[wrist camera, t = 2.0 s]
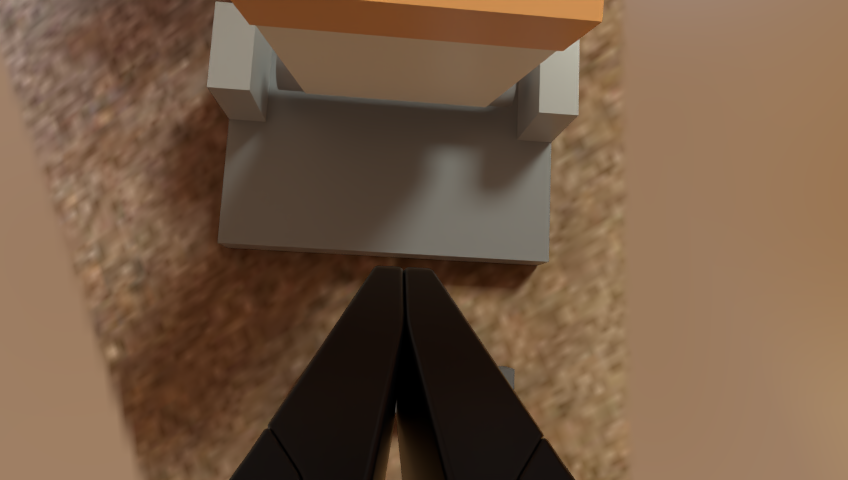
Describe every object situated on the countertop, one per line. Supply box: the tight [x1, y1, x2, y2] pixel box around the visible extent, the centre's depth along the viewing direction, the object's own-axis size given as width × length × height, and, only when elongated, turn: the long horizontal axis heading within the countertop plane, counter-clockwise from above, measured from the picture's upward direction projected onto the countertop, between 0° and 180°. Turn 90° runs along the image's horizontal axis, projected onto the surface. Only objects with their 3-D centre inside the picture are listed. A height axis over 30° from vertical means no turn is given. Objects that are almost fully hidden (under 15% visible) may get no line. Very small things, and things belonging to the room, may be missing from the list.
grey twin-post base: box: [207, 1, 579, 265], centre depth 19 cm, size 12×10×4 cm
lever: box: [231, 0, 604, 107], centre depth 14 cm, size 2×7×11 cm, turn 87°
